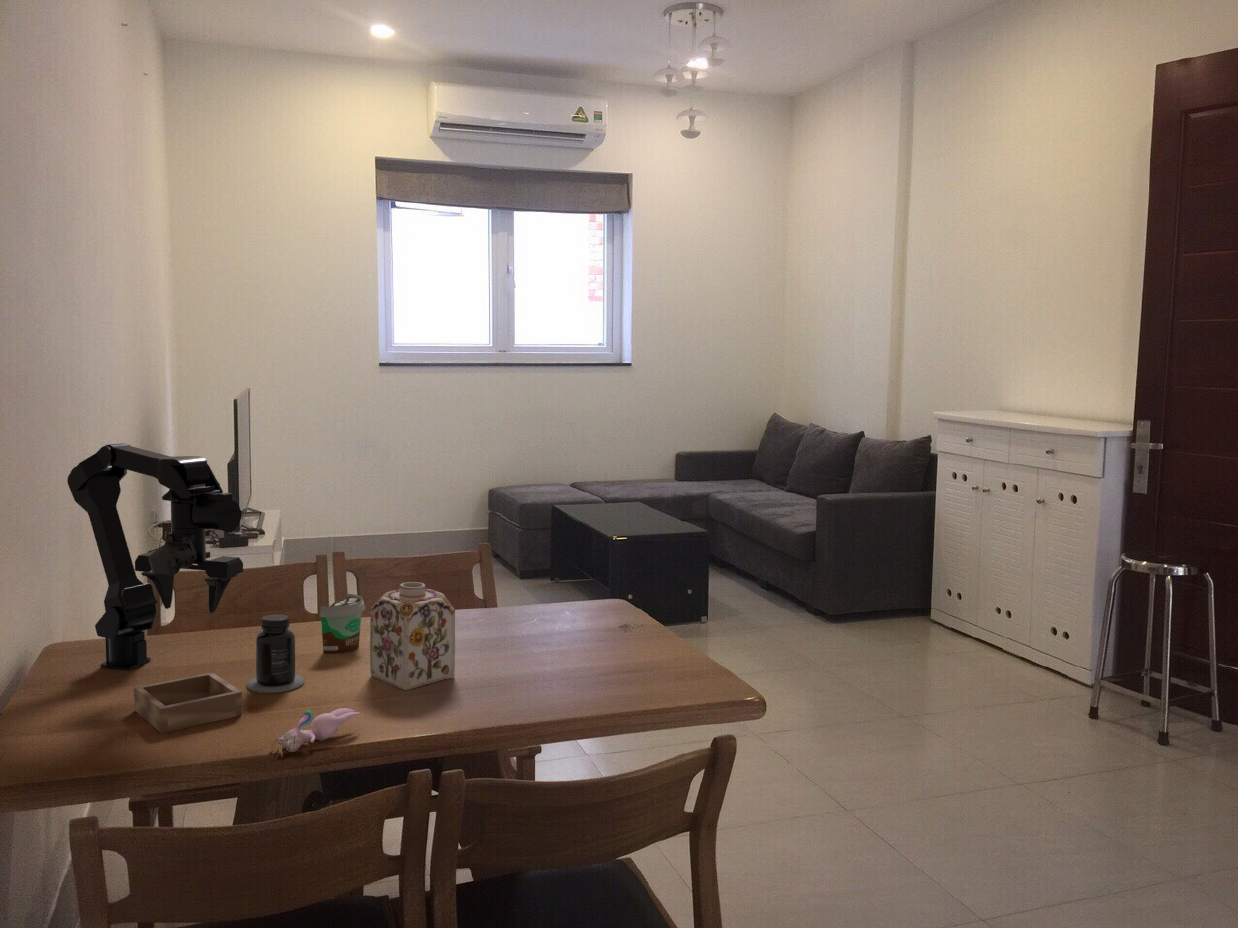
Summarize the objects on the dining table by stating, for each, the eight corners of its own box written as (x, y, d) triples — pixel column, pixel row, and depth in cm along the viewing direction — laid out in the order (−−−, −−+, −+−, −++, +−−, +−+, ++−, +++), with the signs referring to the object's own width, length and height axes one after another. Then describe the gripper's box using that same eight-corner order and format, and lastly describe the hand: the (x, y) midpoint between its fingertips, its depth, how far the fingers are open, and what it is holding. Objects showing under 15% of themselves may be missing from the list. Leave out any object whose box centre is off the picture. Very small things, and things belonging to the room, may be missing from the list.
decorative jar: (368, 676, 190) (368, 583, 188) (419, 663, 199) (419, 574, 197) (405, 692, 182) (406, 594, 180) (457, 678, 191) (457, 585, 189)
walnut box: (134, 710, 170) (134, 687, 169) (212, 694, 179) (212, 672, 178) (161, 733, 160) (160, 708, 160) (242, 714, 169) (241, 691, 169)
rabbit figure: (288, 768, 152) (370, 726, 163) (282, 732, 151) (365, 692, 162) (266, 756, 156) (347, 716, 167) (260, 721, 155) (342, 683, 166)
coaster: (235, 690, 181) (235, 687, 181) (266, 673, 191) (266, 671, 190) (285, 695, 179) (285, 693, 179) (314, 678, 188) (314, 676, 188)
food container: (348, 658, 201) (348, 609, 200) (319, 655, 202) (319, 607, 201) (375, 641, 213) (375, 595, 212) (348, 638, 214) (348, 592, 213)
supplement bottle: (300, 676, 188) (300, 613, 187) (288, 687, 181) (288, 622, 180) (263, 674, 188) (263, 611, 187) (250, 686, 181) (249, 621, 180)
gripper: (112, 530, 177) (114, 617, 179) (207, 537, 173) (208, 626, 175) (154, 520, 188) (156, 602, 190) (244, 526, 184) (245, 610, 186)
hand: (190, 610), depth 185 cm, fingers open, 9 cm apart
